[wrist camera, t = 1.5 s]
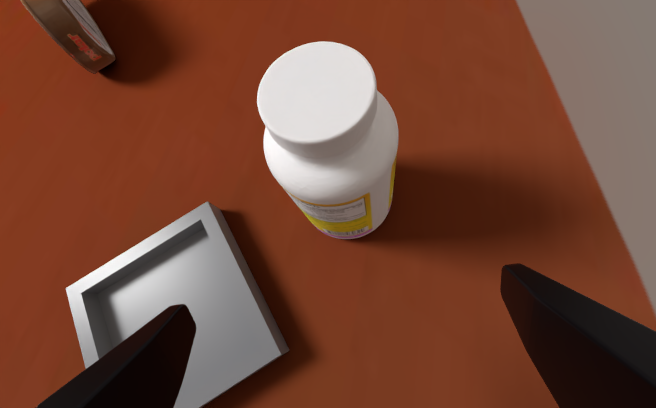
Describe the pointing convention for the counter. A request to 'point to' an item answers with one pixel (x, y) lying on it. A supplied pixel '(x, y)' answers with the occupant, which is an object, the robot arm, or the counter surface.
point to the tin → (73, 31)
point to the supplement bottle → (330, 137)
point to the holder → (183, 288)
